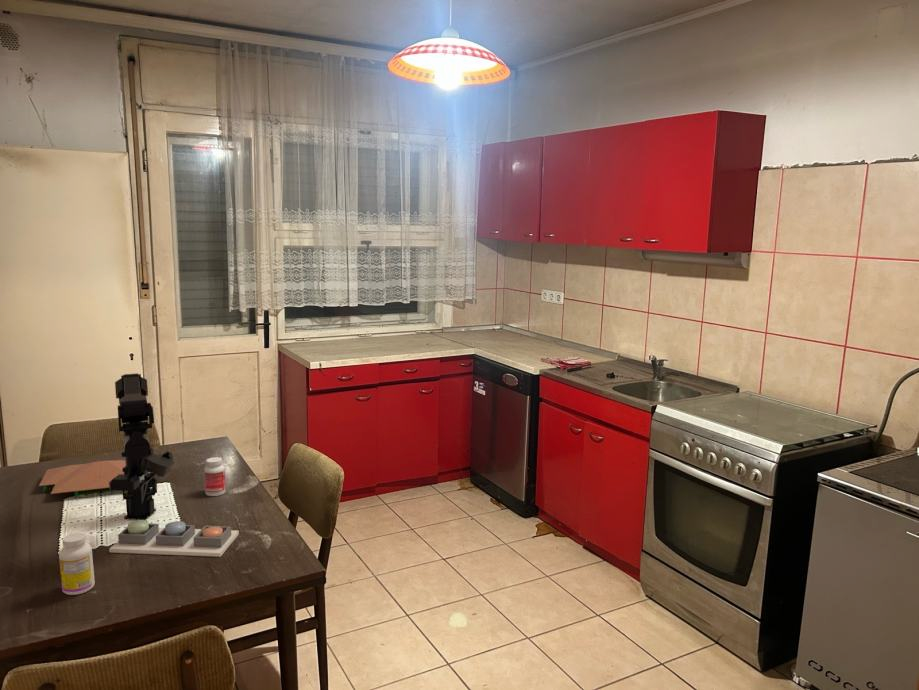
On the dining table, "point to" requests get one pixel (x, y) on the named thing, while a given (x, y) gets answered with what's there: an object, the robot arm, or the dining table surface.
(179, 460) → the dining table surface
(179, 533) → the slate blue button
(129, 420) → the robot arm
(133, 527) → the sage button
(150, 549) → the button panel
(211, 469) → the pill bottle
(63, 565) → the supplement bottle
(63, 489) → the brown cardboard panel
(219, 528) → the terracotta button
